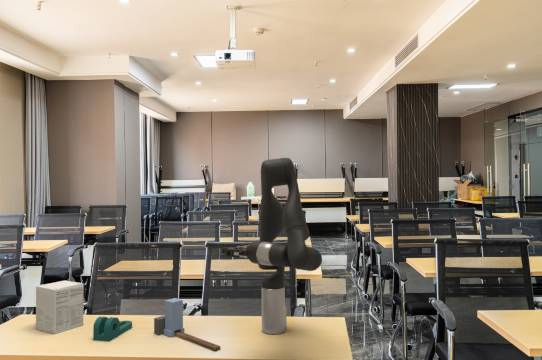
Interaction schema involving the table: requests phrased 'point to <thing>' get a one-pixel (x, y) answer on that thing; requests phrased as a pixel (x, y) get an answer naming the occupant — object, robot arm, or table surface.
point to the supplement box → (59, 306)
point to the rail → (197, 341)
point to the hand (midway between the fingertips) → (231, 248)
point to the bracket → (109, 328)
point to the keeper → (173, 316)
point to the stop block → (159, 325)
